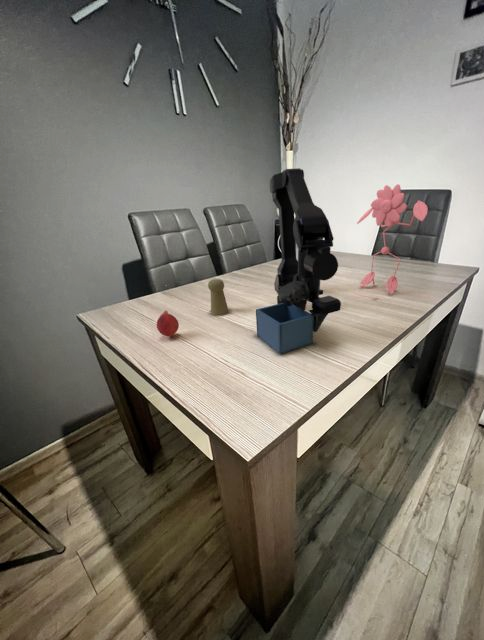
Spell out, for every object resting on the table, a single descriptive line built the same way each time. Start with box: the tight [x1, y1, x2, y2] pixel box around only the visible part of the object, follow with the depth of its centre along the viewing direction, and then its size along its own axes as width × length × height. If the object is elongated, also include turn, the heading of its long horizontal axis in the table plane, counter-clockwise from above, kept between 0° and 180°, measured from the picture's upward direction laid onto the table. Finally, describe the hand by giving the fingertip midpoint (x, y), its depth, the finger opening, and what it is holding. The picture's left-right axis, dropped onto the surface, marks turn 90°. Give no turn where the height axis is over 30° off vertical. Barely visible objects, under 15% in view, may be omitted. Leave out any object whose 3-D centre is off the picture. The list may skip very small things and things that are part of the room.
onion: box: [156, 310, 180, 338], centre depth 77 cm, size 6×6×8 cm
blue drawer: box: [255, 303, 314, 355], centre depth 72 cm, size 13×12×8 cm
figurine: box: [354, 183, 429, 300], centre depth 95 cm, size 15×26×35 cm, turn 34°
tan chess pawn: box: [207, 278, 229, 316], centre depth 91 cm, size 6×6×11 cm
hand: (307, 327), depth 76 cm, fingers closed on blue drawer, 7 cm apart
